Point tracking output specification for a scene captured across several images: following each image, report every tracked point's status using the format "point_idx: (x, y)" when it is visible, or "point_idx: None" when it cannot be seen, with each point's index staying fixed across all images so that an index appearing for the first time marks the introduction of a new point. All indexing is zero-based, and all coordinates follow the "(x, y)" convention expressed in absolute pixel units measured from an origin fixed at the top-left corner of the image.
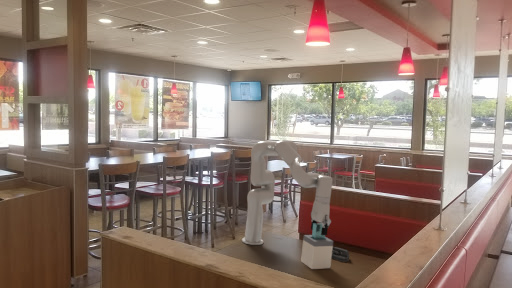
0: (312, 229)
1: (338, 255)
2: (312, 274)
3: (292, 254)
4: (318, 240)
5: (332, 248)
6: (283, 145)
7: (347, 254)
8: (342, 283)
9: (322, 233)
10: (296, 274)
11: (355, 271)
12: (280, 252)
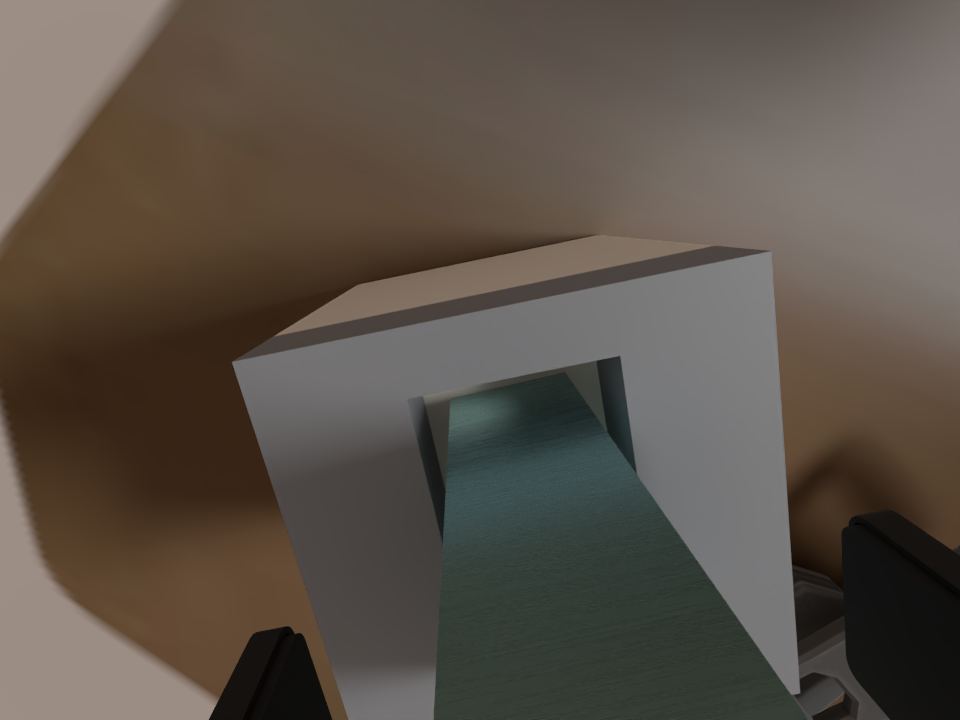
0: (844, 545)
1: None
2: (200, 236)
3: (830, 205)
4: (354, 486)
5: (833, 707)
6: None
7: None
8: (15, 471)
9: (243, 690)
10: (163, 24)
11: None
12: (915, 54)
